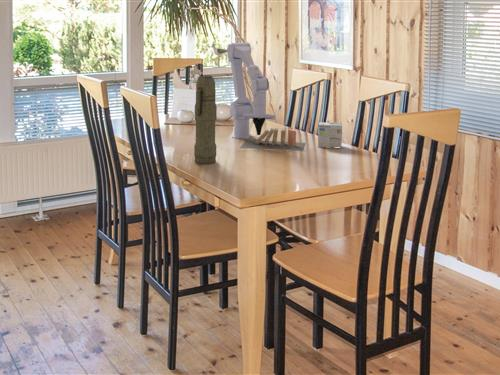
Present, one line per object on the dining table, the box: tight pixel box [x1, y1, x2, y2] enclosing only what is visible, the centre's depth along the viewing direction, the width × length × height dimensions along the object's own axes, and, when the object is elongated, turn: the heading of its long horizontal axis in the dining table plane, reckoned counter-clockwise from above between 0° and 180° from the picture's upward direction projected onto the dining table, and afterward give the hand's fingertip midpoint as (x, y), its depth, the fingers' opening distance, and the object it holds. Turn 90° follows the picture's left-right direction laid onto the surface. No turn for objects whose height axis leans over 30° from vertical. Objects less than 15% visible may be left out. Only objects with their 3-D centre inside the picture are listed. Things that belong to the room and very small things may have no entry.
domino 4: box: [280, 128, 287, 146], centre depth 351 cm, size 2×5×7 cm, turn 172°
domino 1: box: [255, 129, 270, 145], centre depth 353 cm, size 2×5×7 cm
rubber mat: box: [239, 139, 307, 152], centre depth 351 cm, size 18×28×1 cm, turn 82°
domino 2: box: [263, 127, 275, 145], centre depth 352 cm, size 2×5×7 cm, turn 175°
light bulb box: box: [317, 121, 343, 149], centre depth 350 cm, size 11×7×11 cm, turn 84°
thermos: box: [193, 74, 218, 165], centre depth 314 cm, size 9×12×35 cm
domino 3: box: [271, 127, 279, 145], centre depth 352 cm, size 2×5×7 cm, turn 173°
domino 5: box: [287, 128, 297, 146], centre depth 351 cm, size 2×5×7 cm, turn 22°
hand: (258, 134), depth 352 cm, fingers closed
